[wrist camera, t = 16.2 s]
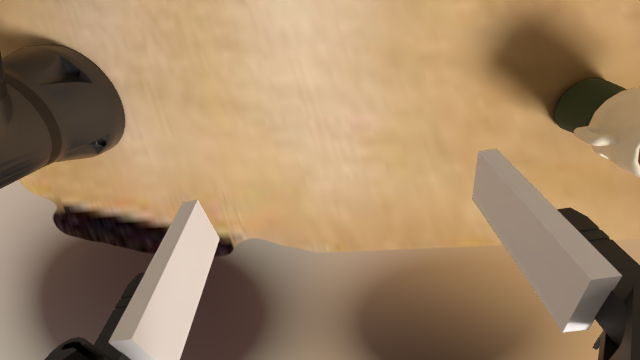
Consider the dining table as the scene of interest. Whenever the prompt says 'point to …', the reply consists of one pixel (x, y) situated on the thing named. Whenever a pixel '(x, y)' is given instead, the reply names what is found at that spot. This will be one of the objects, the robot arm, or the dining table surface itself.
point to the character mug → (604, 120)
